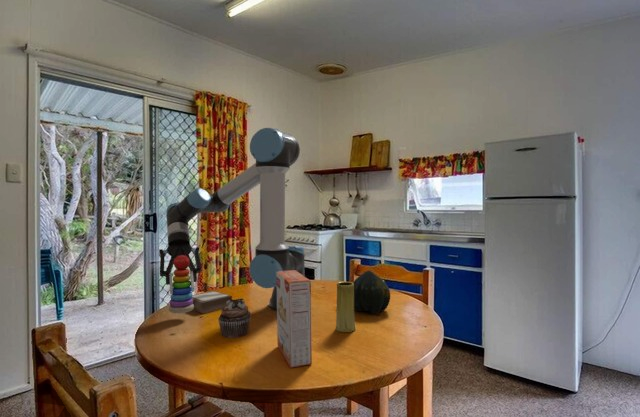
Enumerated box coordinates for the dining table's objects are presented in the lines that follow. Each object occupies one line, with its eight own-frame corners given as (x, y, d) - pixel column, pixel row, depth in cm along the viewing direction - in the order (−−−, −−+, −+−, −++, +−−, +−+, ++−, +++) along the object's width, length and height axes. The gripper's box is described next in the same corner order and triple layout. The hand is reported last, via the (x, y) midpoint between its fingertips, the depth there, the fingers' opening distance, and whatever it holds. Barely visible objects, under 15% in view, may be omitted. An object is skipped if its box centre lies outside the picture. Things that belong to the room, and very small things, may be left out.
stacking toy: (185, 314, 116) (184, 257, 116) (163, 313, 118) (162, 257, 117) (198, 307, 124) (197, 253, 123) (177, 306, 125) (176, 253, 125)
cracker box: (275, 346, 98) (275, 270, 97) (297, 343, 100) (296, 269, 99) (288, 369, 85) (287, 281, 84) (312, 365, 86) (312, 279, 86)
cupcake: (216, 330, 111) (216, 298, 111) (247, 325, 115) (247, 294, 115) (220, 341, 102) (220, 306, 102) (254, 335, 106) (253, 302, 106)
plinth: (231, 306, 136) (231, 295, 136) (203, 313, 127) (203, 302, 127) (214, 300, 144) (214, 290, 144) (186, 307, 135) (186, 296, 135)
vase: (357, 327, 113) (357, 282, 113) (352, 333, 107) (352, 286, 107) (338, 325, 115) (338, 280, 115) (333, 331, 109) (333, 285, 109)
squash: (366, 305, 118) (384, 267, 125) (335, 298, 129) (353, 263, 136) (387, 326, 125) (403, 289, 132) (356, 318, 136) (372, 284, 143)
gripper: (204, 242, 139) (211, 293, 124) (150, 245, 131) (150, 300, 116) (205, 229, 134) (212, 281, 119) (150, 232, 126) (150, 287, 111)
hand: (182, 290), depth 118 cm, fingers closed on stacking toy, 6 cm apart
